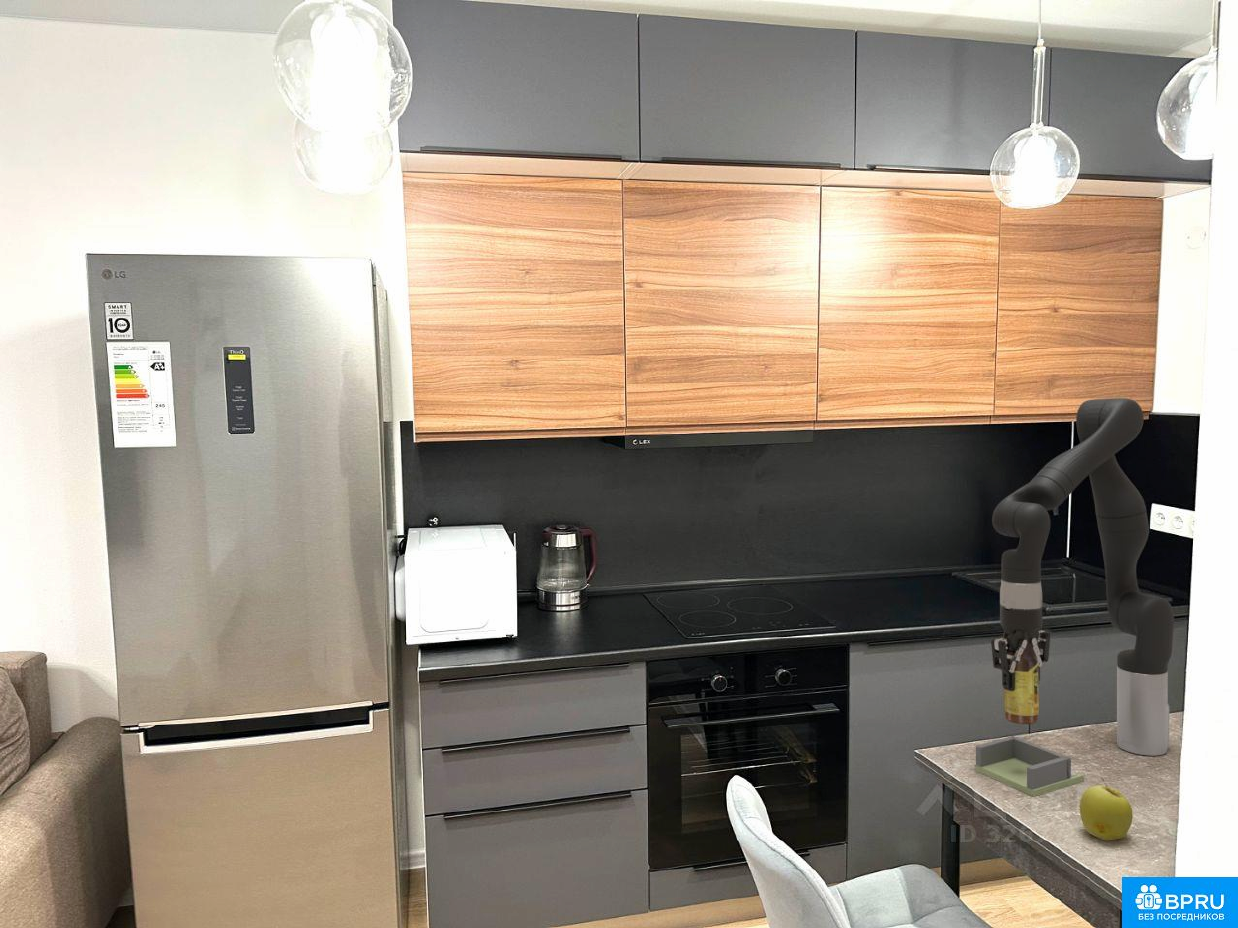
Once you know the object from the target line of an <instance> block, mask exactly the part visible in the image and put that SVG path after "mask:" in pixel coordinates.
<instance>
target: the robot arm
mask: <svg viewBox="0 0 1238 928" xmlns="http://www.w3.org/2000/svg"><path fill="white" fill-rule="evenodd" d="M1075 418H1076V419H1075V421H1076V422H1075V423H1076V430H1077V435H1078V436H1077V437H1078V439H1079V444H1077V445H1075V446H1073V447H1071V448H1070V449H1068V450H1065V451H1064V452H1062V453H1061V454H1059V455H1057V456H1056V457H1054V458H1052V459H1051V460H1050V461H1049V462H1047V463H1046V464H1045V465H1044V466H1043V467H1042V468H1041V469H1040V470H1039V472H1038V473H1037V474H1036V475H1035V476H1034V477H1033V478H1032V479H1031V480H1030V481H1029V482H1028V483H1027V484H1025V485H1023V486H1022V487H1021V486H1020V488H1018V489H1017V490H1015V491H1013V492H1012V493H1011V494H1009V495H1008V496H1006V497H1004V499H1002V500H1001V501H1000V502H999V503H998V504H997V505H996V507H995V508H994V510H993V513H992V518H991V521H992V526H993V528H994V530H995V531H996V532H997V533H998V534H1000V535H1002V536H1004V537H1010V538H1011V537H1012V538H1018V539H1019V543H1018V545H1017V547H1016V548H1012V549H1007V550H1005V551H1004V552H1003V553H1002V554H1001V563H1000V565H1001V582H1000V583H1001V584H1000V587H999V588H1000V590H999V610H1000V611H999V624H1000V626H1002V628H1003V635H1002V637H1001V638H992V639H991V640H990V643H991V645H990V646H991V655H992V666H993V668H994V669H997V670H1001V672H1002V673H1001V674H1002V675H1001V680H1002V681H1001V682H1002V687H1003V690H1004V689H1005V690H1008V691H1014V690H1015V673H1014V670H1015V667H1016V664H1017V662H1019V661H1020V659H1021V656H1022V653H1023V650H1024V649H1025V648H1026V645H1027V640H1024V639H1023V638H1022V637H1023V636H1022V633H1023V631H1030V633H1031V634H1030V636H1031V637H1030V643H1031V645H1032V647H1033V649H1034V652H1035V654H1036V657H1037V660H1038V680H1039V682H1040V681H1041V667H1042V665H1043V663H1047V662H1049V658H1050V657H1049V656H1050V647H1051V645H1050V644H1051V633H1050V632H1049V631H1045V630H1042V627H1043V589H1042V579H1041V578H1042V573H1041V572H1042V568H1041V567H1042V564H1041V562H1042V558H1043V555H1044V552H1045V547H1046V545H1047V540H1048V538H1049V534H1050V532H1051V531H1050V530H1051V517H1050V514H1049V512H1048V511H1052V510H1055V509H1057V508H1059V506H1061V504H1063V503H1064V501H1065V500H1066V499H1067V498H1068V497H1069V496H1070V495H1071V494H1072V493H1073V492H1074V490H1075V489H1076V488H1077V487H1078V486H1079V485H1080V484H1081V483H1082V482H1083V481H1084V480H1085V479H1086V478H1088V476H1089V481H1090V486H1091V491H1092V497H1093V501H1094V508H1095V516H1096V521H1097V529H1098V534H1099V538H1100V543H1101V550H1102V551H1101V552H1102V556H1103V557H1102V558H1103V562H1104V563H1103V564H1104V570H1105V571H1104V572H1105V573H1104V574H1105V585H1106V587H1105V588H1106V590H1105V591H1106V603H1107V604H1106V608H1107V614H1108V619H1109V620H1110V623H1111V625H1112V626H1113V627H1114V628H1115V629H1116V630H1118V631H1119V632H1122V633H1125V634H1127V635H1132V636H1135V638H1136V639H1135V645H1134V648H1133V649H1125V650H1121V651H1120V652H1119V653H1118V654H1117V657H1116V673H1117V674H1116V745H1117V746H1118V748H1120V749H1122V750H1124V751H1126V752H1128V753H1131V754H1136V755H1143V756H1153V757H1154V756H1155V757H1156V756H1161V755H1162V756H1163V755H1165V754H1167V752H1168V749H1169V748H1170V704H1169V703H1168V693H1169V692H1168V684H1169V683H1168V682H1169V681H1168V680H1169V678H1168V676H1169V675H1168V674H1169V671H1168V669H1169V662H1170V660H1171V659H1172V658H1171V657H1172V652H1173V642H1174V641H1173V640H1174V630H1175V629H1174V627H1175V616H1174V610H1173V607H1172V605H1171V602H1169V601H1168V600H1167V599H1166V598H1165V597H1161V596H1159V595H1154V594H1150V593H1145V592H1141V591H1140V589H1139V583H1138V580H1137V564H1138V560H1139V559H1140V555H1141V554H1142V552H1143V550H1144V548H1145V546H1146V543H1147V541H1148V537H1149V535H1150V534H1149V533H1150V525H1149V519H1148V514H1147V506H1146V504H1145V500H1144V498H1143V496H1142V495H1141V493H1140V491H1139V489H1137V488H1136V486H1135V485H1134V483H1132V481H1131V479H1129V478H1128V476H1127V475H1126V474H1125V472H1124V470H1123V469H1122V468H1121V467H1120V465H1119V463H1118V461H1117V458H1116V455H1115V454H1116V453H1118V452H1119V451H1120V450H1122V449H1124V447H1125V448H1126V446H1127V445H1129V443H1131V442H1133V441H1134V440H1135V439H1136V438H1137V437H1138V436H1139V434H1140V432H1141V431H1142V428H1143V425H1144V422H1145V421H1144V420H1145V419H1144V413H1143V409H1142V407H1141V406H1140V404H1139V403H1138V402H1137V401H1135V400H1134V399H1132V398H1131V399H1130V398H1126V397H1125V398H1123V397H1122V398H1121V397H1116V398H1097V399H1096V398H1095V399H1088V400H1085V401H1083V402H1082V403H1081V404H1080V406H1079V407H1078V410H1077V411H1076V417H1075ZM1008 650H1009V652H1012V653H1015V655H1014V656H1011V655H1007V652H1008ZM1041 650H1042V653H1041ZM1008 659H1010V660H1011V662H1010V665H1008ZM1039 685H1040V683H1039V684H1038V686H1039Z"/></svg>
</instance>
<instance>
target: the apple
mask: <svg viewBox="0 0 1238 928" xmlns="http://www.w3.org/2000/svg"><path fill="white" fill-rule="evenodd" d="M1100 779H1101V780H1102V781H1103V783H1104V784H1105V785H1101V784H1098V785H1092V786H1090V787H1088V788H1087V789H1086V790H1085V791H1084V792H1082V794H1081V796H1080V797H1081V798H1080V801H1079V814H1080V819H1081V822H1082V825H1083V827H1084V828H1085V830H1086V831H1087V833H1089V834H1090V835H1092V836H1094V837H1096V838H1098V839H1099V840H1102V841H1115V840H1120V839H1123V838H1124V837H1125V836H1127V833H1128V832H1129V831H1130V828H1131V826H1132V822H1133V808H1132V806H1131V804H1130V802H1129V801H1128V800H1127V797H1125V796H1124V795H1123V793H1122V792H1120V791H1119V790H1117V789H1115V788H1114V787H1111V786H1107V784H1106V782H1105V780H1104V778H1103V777H1101V778H1100Z"/></svg>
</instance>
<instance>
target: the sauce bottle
mask: <svg viewBox="0 0 1238 928" xmlns="http://www.w3.org/2000/svg"><path fill="white" fill-rule="evenodd" d="M1030 634H1031V633H1030V631H1023V633H1022V636H1023V637H1022V638H1023V639H1024V640H1027V645H1026V648H1025V649H1024V650H1023V653H1022V656H1021V659H1020V661H1019V662H1017V664H1016V667H1015V670H1014V673H1015V690H1014V691H1008V690H1005V689H1004V688H1003V701H1004V702H1003V706H1004V707H1003V708H1004V709H1003V711H1004V716H1005V719H1006V720H1007V721H1008V722H1011V723H1014V724H1018V725H1032V724H1035V723H1037V722H1038V720H1039V716H1038V715H1039V713H1040V712H1039V711H1040V709H1039V708H1040V707H1039V706H1040V705H1039V704H1040V703H1039V700H1040V699H1039V694H1040V693H1039V692H1040V691H1039V690H1040V689H1039V687H1040V686H1039V685H1040V681H1039V680H1038V660H1037V657H1036V654H1035V652H1034V649H1033V647H1032V645H1031V643H1030V637H1031V636H1030ZM1007 655H1011V656H1014V655H1015V653H1012V652H1009V650H1008V652H1007ZM1010 662H1011V660H1010V659H1008V665H1010ZM1038 684H1039V685H1038Z"/></svg>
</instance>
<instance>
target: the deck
mask: <svg viewBox="0 0 1238 928" xmlns="http://www.w3.org/2000/svg"><path fill="white" fill-rule="evenodd" d="M974 771H975V772H976V773H979V774H982V775H983V776H987V777H989V778H991V779H993V780H995V781H998V782H1000V783H1002V784H1004V785H1006V786H1009V787H1011V788H1013V789H1016V790H1018V791H1019V792H1022V793H1025V794H1026V795H1029V796H1031V797H1037V796H1038V797H1039V796H1041V795H1044V794H1047V793H1050V792H1053V791H1056V790H1061V789H1063V788H1066V787H1070V786H1073V785H1076V784H1079V783H1083V782H1084V781H1085V775H1084V774H1081V773H1079V772H1078V771H1076V770H1074V769H1072V758H1071V757H1069V756H1067V755H1064V754H1061V753H1059V752H1056V751H1054V750H1051V749H1049V748H1046V747H1043V746H1040V745H1038V744H1035V743H1033V742H1030V741H1027V740H1025V739H1023V738H1020V737H1018V736H1015V735H1011V736H1008V737H1005V738H1000V739H997V740H993V741H990V742H989V741H988V742H986V743H982V744H978V745H976V746H975V764H974Z"/></svg>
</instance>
